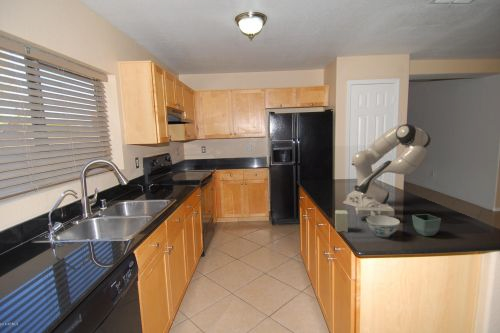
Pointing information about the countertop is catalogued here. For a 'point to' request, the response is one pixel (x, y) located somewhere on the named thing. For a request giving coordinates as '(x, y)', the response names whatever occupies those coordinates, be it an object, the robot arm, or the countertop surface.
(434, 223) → the flower pot
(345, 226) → the sage block
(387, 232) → the chinaware
